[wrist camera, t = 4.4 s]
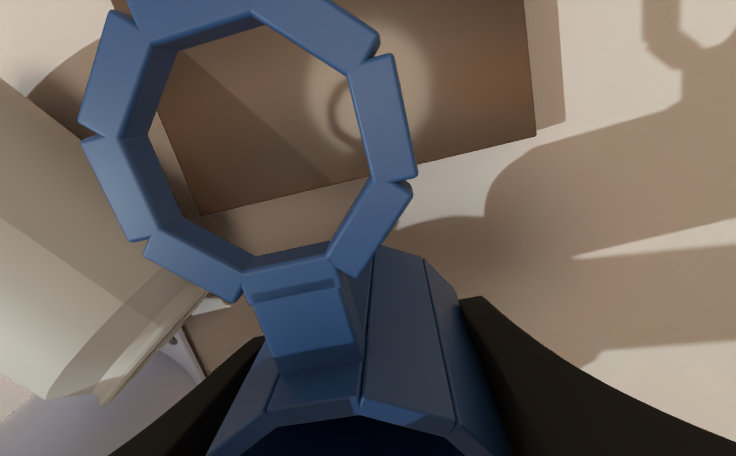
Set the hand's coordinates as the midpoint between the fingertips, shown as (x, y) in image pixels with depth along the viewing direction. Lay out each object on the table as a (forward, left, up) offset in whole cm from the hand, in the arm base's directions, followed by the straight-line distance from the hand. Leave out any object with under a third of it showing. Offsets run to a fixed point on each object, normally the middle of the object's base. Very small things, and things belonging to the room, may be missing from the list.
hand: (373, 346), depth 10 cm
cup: (+3, 0, -1) cm, 3 cm away
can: (+10, +15, -3) cm, 18 cm away
